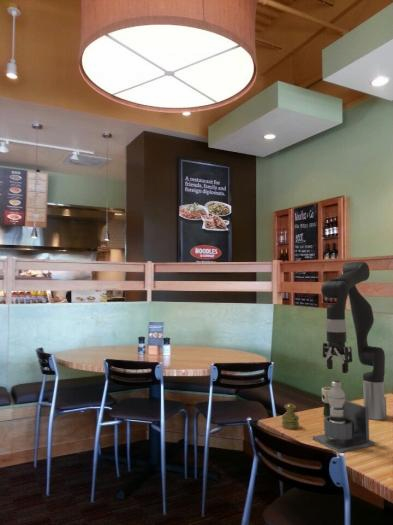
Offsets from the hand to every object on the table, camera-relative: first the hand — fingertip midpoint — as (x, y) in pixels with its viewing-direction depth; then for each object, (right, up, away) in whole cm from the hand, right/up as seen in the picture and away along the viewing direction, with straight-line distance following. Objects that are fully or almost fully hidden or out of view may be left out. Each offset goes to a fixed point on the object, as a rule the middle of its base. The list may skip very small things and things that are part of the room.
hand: (337, 370), depth 166 cm
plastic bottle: (0, -25, 0) cm, 25 cm away
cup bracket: (+2, -28, -1) cm, 29 cm away
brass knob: (-15, -30, +18) cm, 38 cm away
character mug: (+7, -30, +32) cm, 45 cm away
